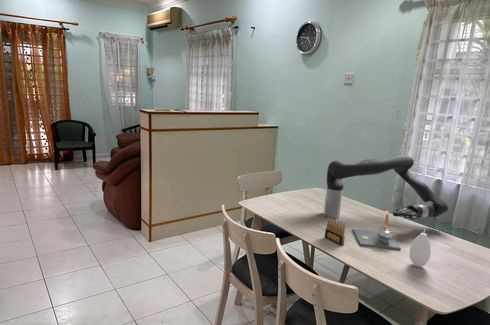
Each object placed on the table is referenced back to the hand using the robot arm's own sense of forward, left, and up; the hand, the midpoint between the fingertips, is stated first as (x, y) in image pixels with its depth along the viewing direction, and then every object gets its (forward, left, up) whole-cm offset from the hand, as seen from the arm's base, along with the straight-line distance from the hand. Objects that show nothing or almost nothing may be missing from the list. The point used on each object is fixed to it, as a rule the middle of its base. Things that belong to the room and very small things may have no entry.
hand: (394, 214), depth 173 cm
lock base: (-10, -8, -12) cm, 18 cm away
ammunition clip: (-32, -15, -12) cm, 38 cm away
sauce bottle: (+2, -31, -12) cm, 34 cm away
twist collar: (-6, -8, -8) cm, 13 cm away
